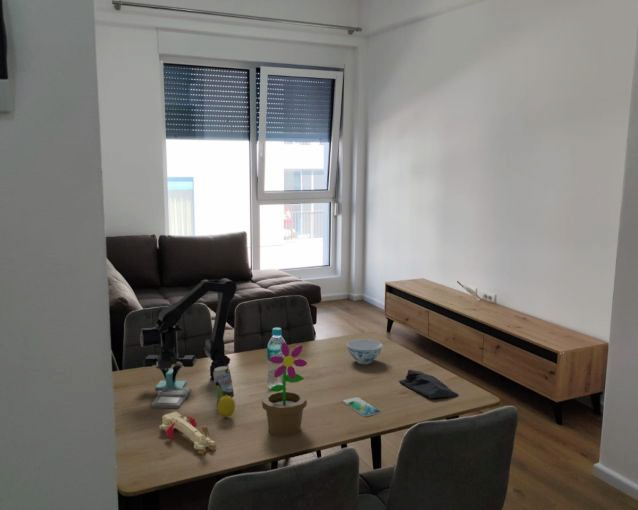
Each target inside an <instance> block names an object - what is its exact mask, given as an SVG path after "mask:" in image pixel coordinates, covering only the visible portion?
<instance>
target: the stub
mask: <svg viewBox="0 0 638 510" xmlns="http://www.w3.org/2000/svg"><path fill="white" fill-rule="evenodd" d="M187 381H188V380H177V379H176V380H175V383H173V368H169V371H168V372H167V373H166V379H165V380H160V381H159V382H158V383H157V384H156V386H155V390H163V389H164V388H165V387H176V388H185V386H186V384H188V383H187Z"/></svg>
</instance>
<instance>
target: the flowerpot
mask: <svg viewBox="0 0 638 510" xmlns="http://www.w3.org/2000/svg"><path fill="white" fill-rule="evenodd" d="M280 351H281V353H282V355H283V356H284V357H282V356H281V355H273V356H269V361H270V362H271V363H273V364H277V365H279V366H278V367H277V368H276V369H275V370H274V374H273V377H275V379H277V378H278V377H281V376H282V384H276V385H273V386H272V387H271V388H270V389H269V392H267V393H265V394H264V395H263V396H262V397H261V405H262V409H263V410H265V412H266V417H267V418H266V419H267V423H268V424H267V427H268V431H269V433H270V434H272V435H274V436H279V437H287V436H288V437H289V436H293V435H296V434H298V433H299V431H301V428H302V420H303V411H304V409H305V408H306V407H307V406H308V405H307V404H308V402H307V396H306V394H304V393H303V392H301V391H299V390H291V389H286V384H287V383H286V382H288V383H291V384H292V383H298V382H301V381H303V380H304V377H303V376H302V375H300V374H299V373H296V369H295V367H293V366H292V365H294V366H296V367H305V366H307V364H308V362H307V361H306V360H304V359H303V358H298V356H299V355H301V352H302V351H303V345H302V344H299V345H297V346H295V347H294V348H293V349H292V351H291V352H290V347H289V345H288V344H287V343H286V342H282V343H281V347H280ZM290 353H291V354H290ZM289 354H290V355H289ZM294 358H295V359H294ZM280 364H281V365H280Z"/></svg>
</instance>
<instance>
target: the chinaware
mask: <svg viewBox="0 0 638 510" xmlns="http://www.w3.org/2000/svg"><path fill="white" fill-rule="evenodd" d="M346 347H347V351H348V353H349V355H350V356H351V357H352V358H353V359H354V360H356V363H357V362H358V364H360V365H370V364H372V363H373V361H374V360H376V358H378V357H379V355H380V354H381V351H382V348H383V343H381V342H380V341H378V340H375V339H369V338H358V339H353V340H350V341H348V342H347V343H346ZM371 362H372V363H371ZM369 363H370V364H369Z"/></svg>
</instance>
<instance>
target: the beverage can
mask: <svg viewBox="0 0 638 510" xmlns="http://www.w3.org/2000/svg"><path fill="white" fill-rule="evenodd" d="M213 376H214V379H213V381H214V387H215V393H216V399H217V400H218V401H219V400H220V399H221V398H222V397H223V396H225V395H227V396H230V397H232V398H234V397H235V394H234V393H235V392H234V387H233V380H232V374H231V369H228V367H227V366H221V367H217V368H215V369H214V372H213Z"/></svg>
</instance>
